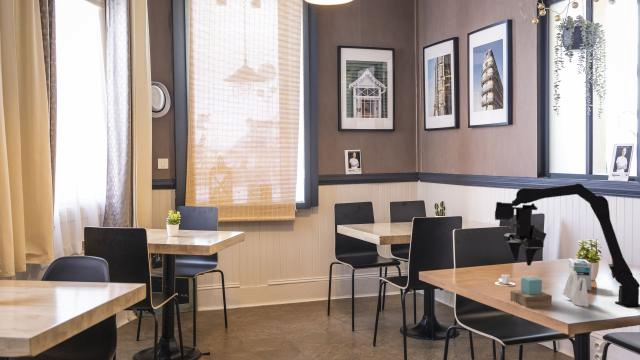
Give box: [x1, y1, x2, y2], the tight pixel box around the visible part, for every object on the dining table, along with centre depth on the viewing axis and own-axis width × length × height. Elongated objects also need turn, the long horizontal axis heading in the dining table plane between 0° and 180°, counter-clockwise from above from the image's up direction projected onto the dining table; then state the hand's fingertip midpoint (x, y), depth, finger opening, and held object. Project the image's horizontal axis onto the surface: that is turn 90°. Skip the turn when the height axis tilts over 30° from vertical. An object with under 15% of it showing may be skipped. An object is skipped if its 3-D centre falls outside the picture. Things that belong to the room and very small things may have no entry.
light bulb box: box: [568, 258, 592, 291], centre depth 246 cm, size 11×7×11 cm, turn 168°
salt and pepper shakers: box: [562, 271, 589, 307], centre depth 220 cm, size 12×4×11 cm, turn 4°
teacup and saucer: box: [494, 273, 516, 287], centre depth 252 cm, size 9×8×4 cm
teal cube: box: [520, 276, 543, 295], centre depth 219 cm, size 5×5×5 cm
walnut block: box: [509, 289, 553, 308], centre depth 219 cm, size 10×10×4 cm
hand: (522, 263), depth 230 cm, fingers open, 9 cm apart
